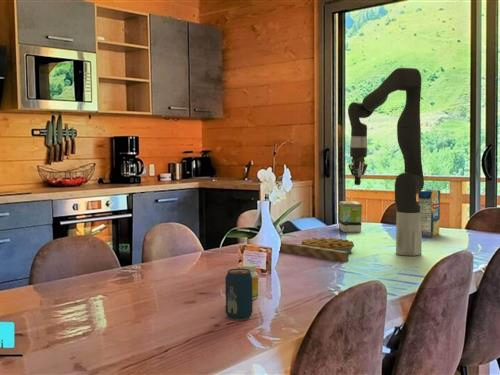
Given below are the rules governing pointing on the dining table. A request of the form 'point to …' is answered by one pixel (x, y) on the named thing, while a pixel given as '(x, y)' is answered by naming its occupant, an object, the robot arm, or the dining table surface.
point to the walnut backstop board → (314, 251)
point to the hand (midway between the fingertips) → (357, 184)
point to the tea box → (350, 216)
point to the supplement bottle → (255, 278)
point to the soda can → (238, 294)
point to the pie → (330, 244)
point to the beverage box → (429, 212)
